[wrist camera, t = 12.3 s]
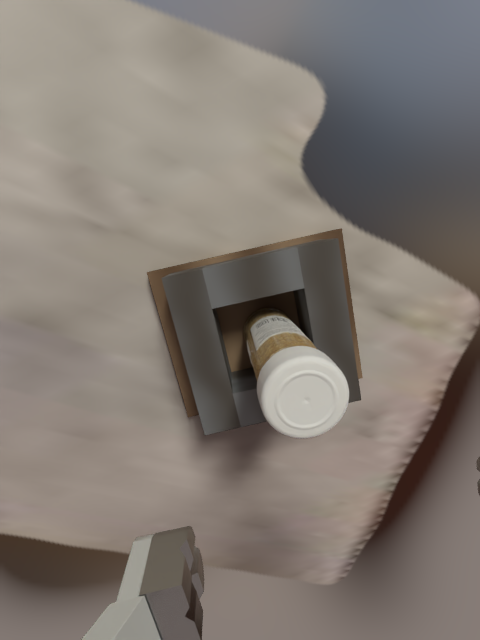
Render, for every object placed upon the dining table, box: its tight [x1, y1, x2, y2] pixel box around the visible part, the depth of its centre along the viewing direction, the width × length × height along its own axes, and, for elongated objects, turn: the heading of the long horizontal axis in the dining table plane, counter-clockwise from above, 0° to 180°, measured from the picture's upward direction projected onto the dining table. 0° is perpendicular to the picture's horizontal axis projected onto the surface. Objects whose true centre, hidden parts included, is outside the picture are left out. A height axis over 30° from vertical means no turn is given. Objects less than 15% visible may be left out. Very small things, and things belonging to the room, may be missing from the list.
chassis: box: [147, 229, 362, 435], centre depth 27 cm, size 17×14×6 cm
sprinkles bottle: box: [243, 308, 349, 439], centre depth 22 cm, size 5×5×14 cm
